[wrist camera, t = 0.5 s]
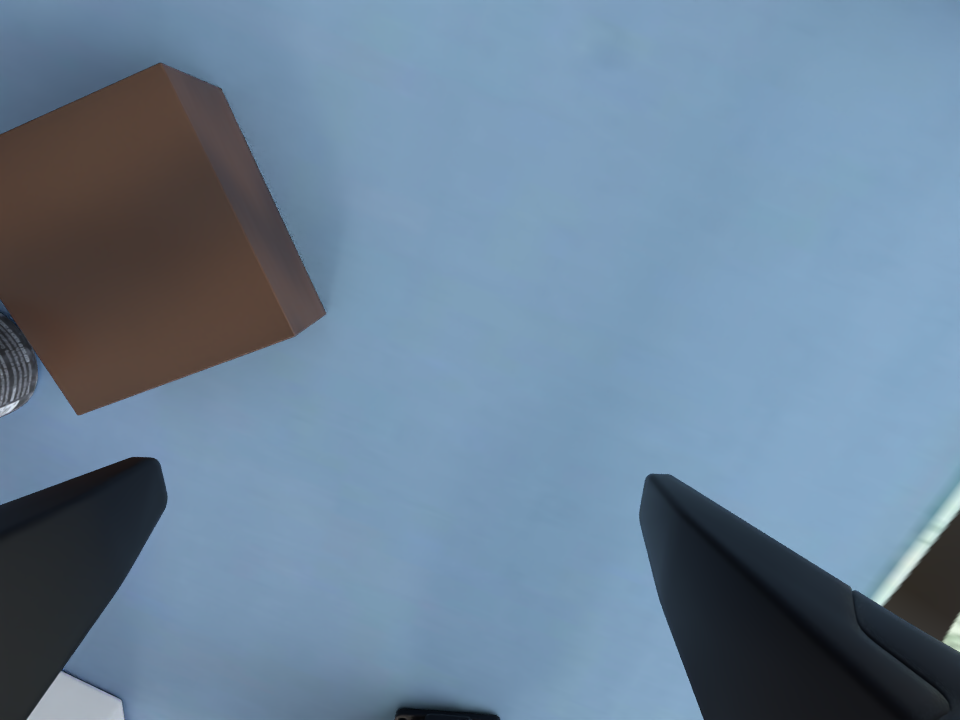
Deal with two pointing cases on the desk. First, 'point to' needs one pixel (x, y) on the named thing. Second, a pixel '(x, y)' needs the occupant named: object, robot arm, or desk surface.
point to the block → (143, 240)
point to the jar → (76, 702)
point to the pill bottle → (15, 367)
